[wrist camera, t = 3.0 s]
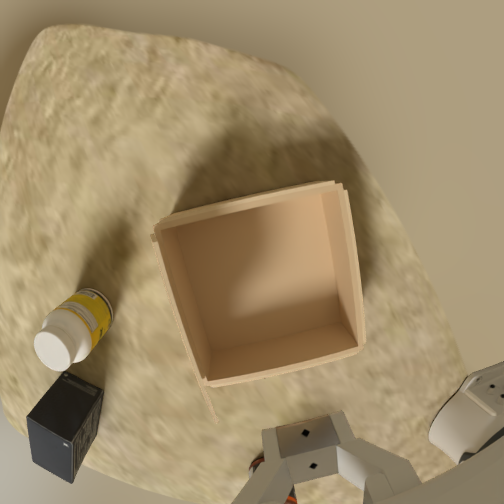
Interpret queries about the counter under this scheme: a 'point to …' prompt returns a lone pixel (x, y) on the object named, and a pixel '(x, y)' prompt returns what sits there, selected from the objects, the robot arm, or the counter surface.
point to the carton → (266, 281)
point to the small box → (64, 425)
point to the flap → (181, 325)
